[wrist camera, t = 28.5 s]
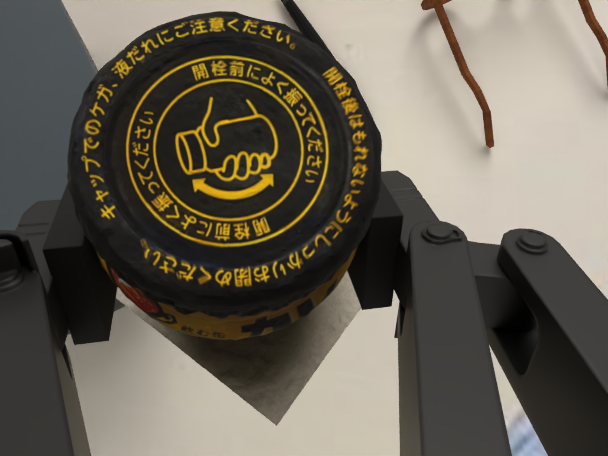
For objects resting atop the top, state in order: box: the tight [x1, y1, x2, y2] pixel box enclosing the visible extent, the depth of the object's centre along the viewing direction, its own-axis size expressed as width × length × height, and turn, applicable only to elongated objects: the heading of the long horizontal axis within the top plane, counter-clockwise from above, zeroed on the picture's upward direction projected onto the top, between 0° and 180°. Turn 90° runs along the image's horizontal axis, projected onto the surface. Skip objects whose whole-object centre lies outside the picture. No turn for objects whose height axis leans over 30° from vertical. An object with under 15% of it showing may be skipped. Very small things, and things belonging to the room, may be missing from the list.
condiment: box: [67, 11, 382, 426], centre depth 14 cm, size 7×8×12 cm
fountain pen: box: [281, 0, 372, 116], centre depth 42 cm, size 14×1×2 cm, turn 33°
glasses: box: [421, 0, 608, 148], centre depth 42 cm, size 13×13×5 cm
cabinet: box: [0, 0, 98, 230], centre depth 33 cm, size 15×13×10 cm
